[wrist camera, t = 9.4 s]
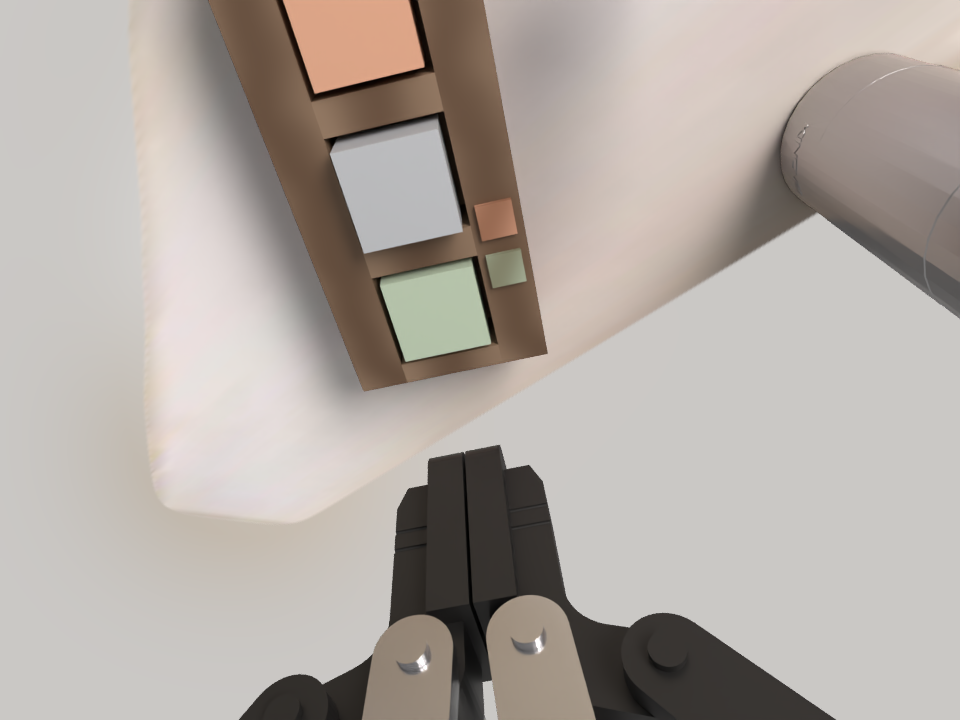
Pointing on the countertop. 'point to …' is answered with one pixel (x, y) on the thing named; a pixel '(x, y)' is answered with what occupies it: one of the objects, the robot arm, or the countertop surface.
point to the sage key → (437, 309)
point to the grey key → (398, 183)
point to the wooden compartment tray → (377, 103)
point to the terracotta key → (355, 39)
